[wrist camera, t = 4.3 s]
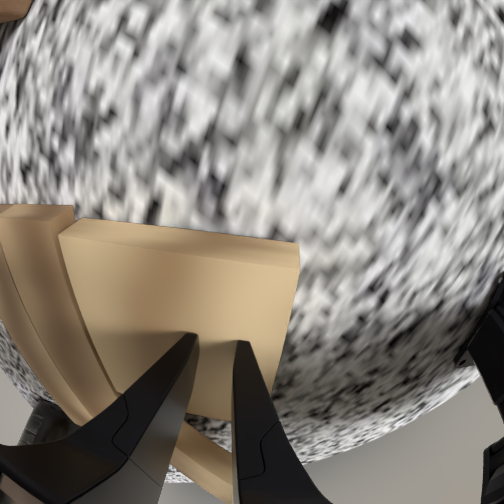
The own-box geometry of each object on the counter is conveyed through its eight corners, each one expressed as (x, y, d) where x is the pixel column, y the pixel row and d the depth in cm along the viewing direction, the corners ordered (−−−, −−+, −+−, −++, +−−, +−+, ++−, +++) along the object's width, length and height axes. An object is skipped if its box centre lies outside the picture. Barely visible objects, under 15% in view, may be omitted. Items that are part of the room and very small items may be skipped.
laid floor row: (72, 205, 9) (49, 221, 8) (154, 436, 19) (150, 450, 18) (-20, 204, 9) (-38, 215, 8) (79, 411, 19) (74, 423, 18)
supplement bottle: (49, 414, 23) (20, 484, 12) (31, 389, 19) (-7, 469, 9) (94, 437, 23) (68, 513, 13) (80, 416, 20) (46, 507, 9)
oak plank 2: (252, 465, 10) (234, 487, 9) (242, 493, 15) (231, 505, 14) (137, 381, 14) (119, 395, 13) (164, 439, 18) (152, 449, 17)
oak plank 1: (298, 243, 8) (300, 269, 7) (264, 402, 13) (262, 426, 12) (82, 217, 9) (57, 235, 8) (126, 372, 14) (116, 391, 12)
